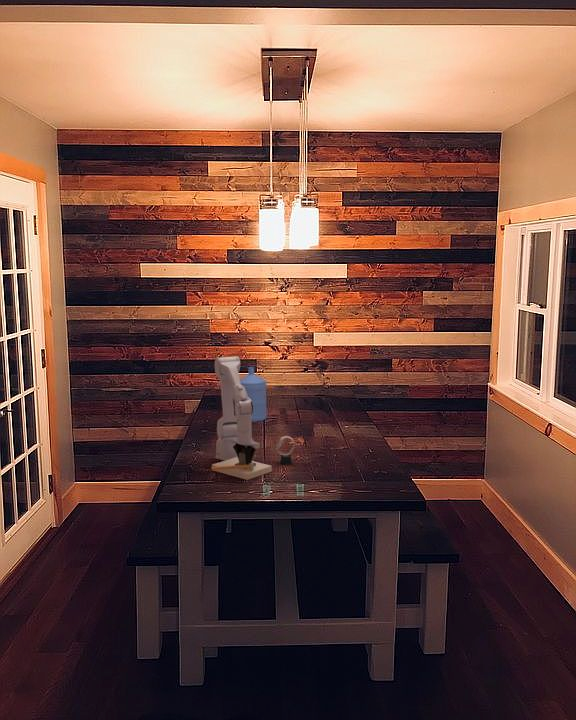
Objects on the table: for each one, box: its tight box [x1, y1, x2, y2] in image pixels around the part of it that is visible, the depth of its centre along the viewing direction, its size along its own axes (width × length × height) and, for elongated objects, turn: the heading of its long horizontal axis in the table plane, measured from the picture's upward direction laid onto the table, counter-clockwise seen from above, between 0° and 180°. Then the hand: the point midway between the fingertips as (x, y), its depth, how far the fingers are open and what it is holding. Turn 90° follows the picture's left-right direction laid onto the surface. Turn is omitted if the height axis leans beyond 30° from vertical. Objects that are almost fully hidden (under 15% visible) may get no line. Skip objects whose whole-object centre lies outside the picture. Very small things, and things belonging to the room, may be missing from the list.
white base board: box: [211, 457, 273, 481], centre depth 279 cm, size 20×14×2 cm
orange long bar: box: [211, 463, 254, 471], centre depth 270 cm, size 16×2×2 cm, turn 100°
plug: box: [235, 448, 256, 469], centre depth 277 cm, size 6×6×10 cm
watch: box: [275, 435, 296, 465], centre depth 289 cm, size 6×8×11 cm
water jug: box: [240, 366, 268, 423], centre depth 368 cm, size 16×16×28 cm
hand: (245, 463), depth 277 cm, fingers closed on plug, 4 cm apart
